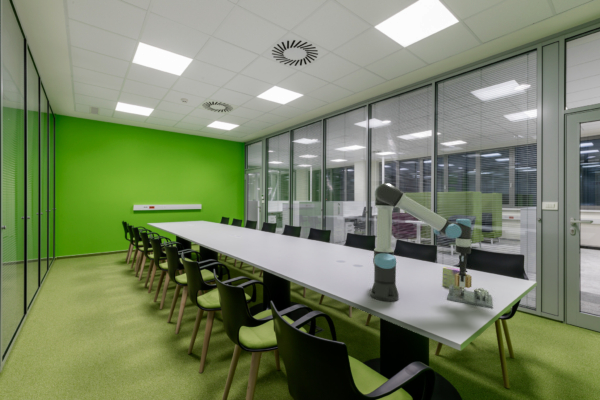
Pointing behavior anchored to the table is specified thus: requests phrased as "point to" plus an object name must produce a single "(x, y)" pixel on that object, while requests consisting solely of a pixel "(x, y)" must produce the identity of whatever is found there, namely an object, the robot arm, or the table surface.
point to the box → (450, 277)
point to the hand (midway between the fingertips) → (462, 285)
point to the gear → (467, 280)
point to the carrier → (470, 296)
